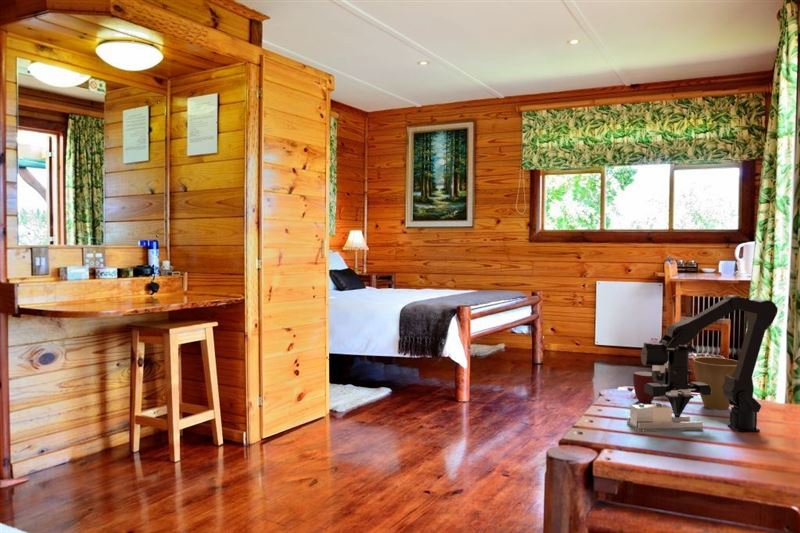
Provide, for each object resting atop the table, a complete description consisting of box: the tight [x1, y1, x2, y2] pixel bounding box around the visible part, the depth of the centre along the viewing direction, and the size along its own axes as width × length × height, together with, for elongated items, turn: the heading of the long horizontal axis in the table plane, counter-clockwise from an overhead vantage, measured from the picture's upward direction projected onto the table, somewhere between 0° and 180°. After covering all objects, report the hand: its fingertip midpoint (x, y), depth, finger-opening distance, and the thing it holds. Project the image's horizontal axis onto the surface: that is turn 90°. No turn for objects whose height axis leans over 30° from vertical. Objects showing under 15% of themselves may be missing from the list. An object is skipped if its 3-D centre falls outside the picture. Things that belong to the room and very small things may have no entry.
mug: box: [632, 370, 664, 404], centre depth 221 cm, size 10×8×10 cm
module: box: [647, 402, 673, 422], centre depth 190 cm, size 6×4×6 cm, turn 98°
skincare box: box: [651, 362, 668, 386], centre depth 235 cm, size 6×4×12 cm
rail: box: [626, 403, 704, 432], centre depth 191 cm, size 20×8×7 cm, turn 98°
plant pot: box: [693, 356, 738, 411], centre depth 215 cm, size 15×15×16 cm
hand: (677, 417), depth 191 cm, fingers closed
